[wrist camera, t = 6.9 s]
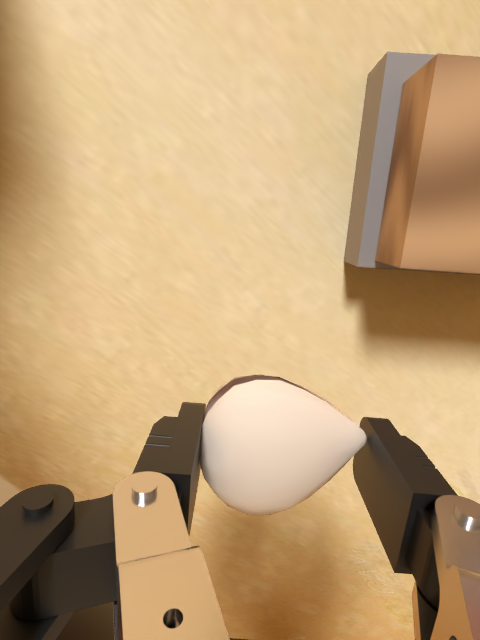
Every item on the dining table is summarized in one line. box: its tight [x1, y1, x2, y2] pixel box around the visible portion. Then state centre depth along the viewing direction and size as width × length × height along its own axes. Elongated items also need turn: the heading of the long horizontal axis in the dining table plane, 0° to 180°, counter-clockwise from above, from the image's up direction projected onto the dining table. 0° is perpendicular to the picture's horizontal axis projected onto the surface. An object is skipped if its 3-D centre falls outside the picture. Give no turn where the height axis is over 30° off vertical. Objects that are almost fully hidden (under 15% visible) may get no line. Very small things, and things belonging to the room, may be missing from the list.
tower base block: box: [344, 52, 480, 275], centre depth 25 cm, size 12×12×4 cm
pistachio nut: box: [199, 375, 367, 515], centre depth 11 cm, size 4×5×2 cm
